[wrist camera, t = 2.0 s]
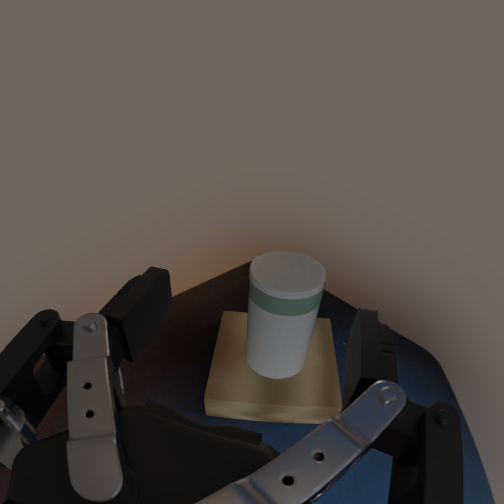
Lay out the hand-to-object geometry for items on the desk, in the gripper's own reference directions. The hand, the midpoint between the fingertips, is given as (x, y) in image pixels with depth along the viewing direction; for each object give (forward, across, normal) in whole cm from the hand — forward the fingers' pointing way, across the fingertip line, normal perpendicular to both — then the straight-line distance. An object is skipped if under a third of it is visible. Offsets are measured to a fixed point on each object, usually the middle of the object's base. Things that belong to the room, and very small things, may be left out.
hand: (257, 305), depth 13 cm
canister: (+11, 0, +15) cm, 19 cm away
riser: (+11, 0, +18) cm, 21 cm away
